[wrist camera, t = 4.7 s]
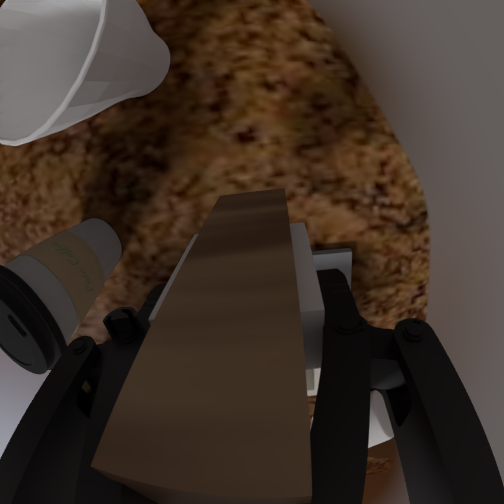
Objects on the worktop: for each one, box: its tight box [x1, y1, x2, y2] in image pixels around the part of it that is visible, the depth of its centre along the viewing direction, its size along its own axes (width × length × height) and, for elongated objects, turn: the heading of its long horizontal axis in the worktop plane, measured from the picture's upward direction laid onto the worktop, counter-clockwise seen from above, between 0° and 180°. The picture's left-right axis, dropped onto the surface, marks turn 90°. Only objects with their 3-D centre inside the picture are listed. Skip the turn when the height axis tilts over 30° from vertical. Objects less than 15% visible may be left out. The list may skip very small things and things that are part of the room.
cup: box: [0, 0, 170, 146], centre depth 13 cm, size 10×10×14 cm
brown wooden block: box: [91, 188, 312, 504], centre depth 11 cm, size 4×4×16 cm
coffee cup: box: [0, 218, 122, 374], centre depth 20 cm, size 9×9×15 cm
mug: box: [311, 390, 394, 448], centre depth 32 cm, size 12×10×8 cm
